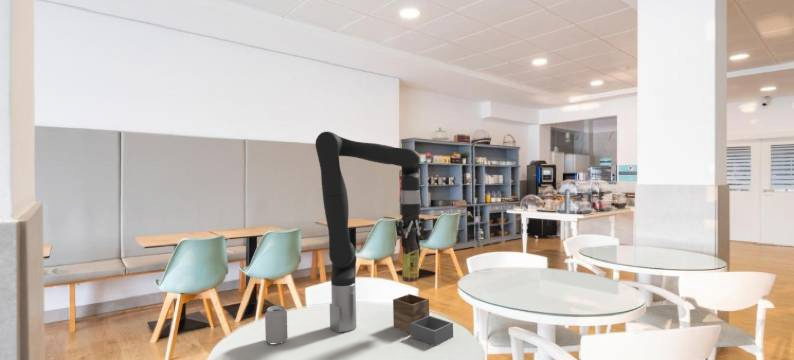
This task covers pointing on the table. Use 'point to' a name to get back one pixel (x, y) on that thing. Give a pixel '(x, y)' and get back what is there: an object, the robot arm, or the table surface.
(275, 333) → the can
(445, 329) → the low holder
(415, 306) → the box
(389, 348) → the table surface
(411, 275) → the sauce bottle
